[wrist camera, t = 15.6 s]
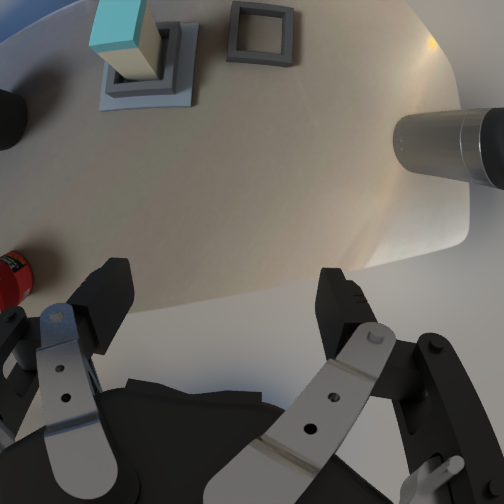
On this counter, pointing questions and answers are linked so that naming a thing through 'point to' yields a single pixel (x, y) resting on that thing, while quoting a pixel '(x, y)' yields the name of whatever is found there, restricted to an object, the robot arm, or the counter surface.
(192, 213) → the counter surface
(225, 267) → the counter surface
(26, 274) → the canned food
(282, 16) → the gray square frame
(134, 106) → the port
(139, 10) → the plug
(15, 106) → the pen holder
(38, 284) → the counter surface
